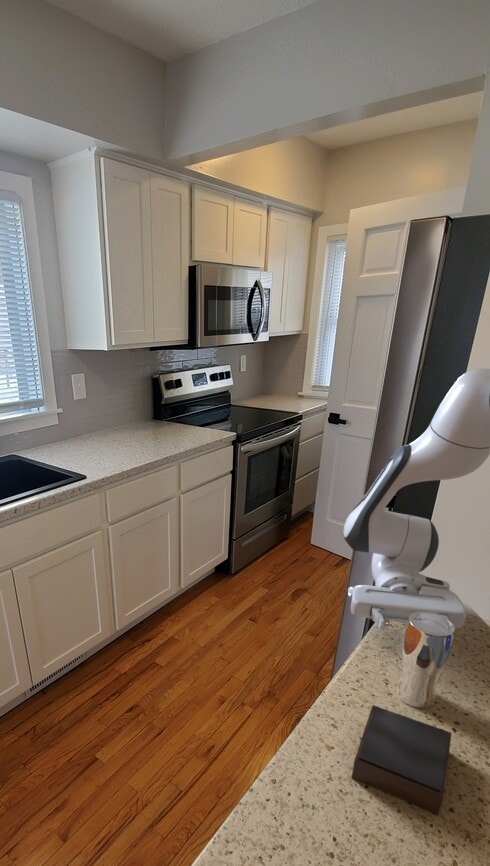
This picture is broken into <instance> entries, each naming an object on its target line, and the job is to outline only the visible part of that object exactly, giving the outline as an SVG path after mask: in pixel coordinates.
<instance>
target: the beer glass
mask: <svg viewBox="0 0 490 866" xmlns="http://www.w3.org/2000/svg"><path fill="white" fill-rule="evenodd" d="M455 631H456V628H455V626H454V624H453V623H452V622H451V621H450V620H449V619H447V618H445V617H444V616H441V615H439V614H436V613H431V612H416V613H413V614H411V615H410V617H409V620H408V622H407V625H406V627H405V631H404V635H403V638H402V645H401V661H402V662H401V663H402V665H401V666H402V671H401V677H400V679H399V682H398V683H397V686H396V689H395V691H396V692H395V693H396V695H397V697H398V698H399V700H401V701H402V702H403V703H405V704H406V705H408V706H411V707H413V708H416V709H428V708H431V707H433V706H434V705H435V704H436V700H437V695H436V693H437V692H436V691H437V690H436V689H437V684H438V682H439V679H440V677H441V675H442V674H443V672H444V670H445V668H446V666H447V664H448V662H449V659H450V657H451V653H452V648H453V644H454V637H455Z"/></svg>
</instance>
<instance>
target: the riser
mask: <svg viewBox="0 0 490 866" xmlns="http://www.w3.org/2000/svg"><path fill="white" fill-rule="evenodd" d="M451 741H452V732H450V731H448V730H445V729H442V728H440V727H436V726H433V725H431V724H428V723H425V722H422V721H420V720H418V719H417V720H416V719H414V718H411V717H408V716H405V715H402V714H399V713H396V712H395V711H390V710H388V709H385V708H382V707H379V706H377V705H372V706H371V708H370V711H369V715H368V718H367V721H366V724H365V727H364V729H363V733H362V736H361V739H360V742H359V745H358V748H357V750H356V751H357V752H356V754H355V757H354V761H353V768H352V773H351V779H353V780H355V781H358V782H360V783H362V784H364V785H367V786H369V787H372V788H374V789H376V790H378V791H380V792H383V793H385V794H388V795H389V796H392V797H395V798H397V799H400V800H401V801H403V802H406V803H409V804H410V805H413V806H415V807H418V808H419V809H422V810H424V811H426V812H429V813H432V814H434V815H436V816H439V814H440V811H441V807H442V804H443V800H444V797H445V789H446V781H447V772H448V765H449V757H450V748H451Z"/></svg>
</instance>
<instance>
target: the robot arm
mask: <svg viewBox="0 0 490 866" xmlns="http://www.w3.org/2000/svg"><path fill="white" fill-rule="evenodd" d="M489 456H490V368H475V369H471V370H469V371H466V372H464V373H463V374H461V375H460V376H459V377H458V378H457V380H456V381H454V384H453V385H452V386H451V388H450V389H449V390H448V392H447V393H446V395H445V396H444V398H443V399H442V400H441V402H440V404H439V406H438V407H437V410H436V411H435V413H434V415H433V417H432V419H431V421H430V423H429V424H428V426H427V428H426V430H425V431H424V432H422V434H421V435H420V436H419V437H418V438H416V439H415V440H413V441H412V442H410V443H408V444H405V445H401V446H400V447H398V448H397V450H395V452H394V453H393V454H392V456H391V457H390V458H389V459H388V460H387V462H386V463H385V465H384V466H383V467H382V469H381V471H380V472H379V473H378V474H377V477H376V478H375V479H374V481H373V482H372V484H371V486H370V487H369V488H368V490H367V491H366V492H365V494H364V496H363V497H362V498H361V500H360V501H359V502H358V503H357V505H355V507H354V508H353V509H352V510H351V512H350V513H349V515H348V516H347V518H346V519H345V522H344V525H343V533H342V536H343V539H344V540H345V543H346V544H347V545H348V546H349V547H350V549H352V550H353V551H354V552H361V553H372V556H371V573H372V578H373V581H374V585H368V584H359V585H354V586H350V587H348V588H347V595H348V597H349V598H351V603H350V613H351V614H352V615H353V616H354V617H357V618H363V619H364V618H365V619H371V621H373V623H375V624H377V625H378V628H379V630H385V631H389V629H390V628H389V627H390V621H391V622H400V623H408V620H409V617H410V615H411V614H413V613H416V612H431V613H436V614H439V615H441V616H444V617H445V618H447V619H449V620H450V621H451V622H452V623H453V624H454V626H455V629H461V628H462V627H463V626H464V625H465V622H466V619H467V615H468V614H467V613H468V611H467V609H466V607H465V605H464V603H463V602H462V600H461V598H460V597H459V596H458V595H457V594H456V593H455V592H453V591H452V590H451V589H450V588H451V585H450V583H449V582H448V581H445V580H441V579H437V578H433V577H430V576H426V575H424V574H423V573H422V572H423V571H424V570H426V569H427V568H428V567H429V566H430V565H431V564H432V562H433V561H434V560H435V557H436V555H437V552H438V550H439V545H440V541H439V540H440V538H439V534H438V531H437V528H436V526H435V524H434V523H433V522H432V520H431V519H429V518H425V517H422V516H421V517H420V516H416V515H411V514H407V513H405V514H404V513H399V512H395V511H391V510H385V508H387V506H388V505H389V503H390V502H391V500H392V499H393V498H394V496H395V495H396V494H397V492H398V491H399V490H401V489H402V488H403V487H406V486H409V485H412V484H417V483H421V482H431V481H445V480H446V481H449V480H454V479H458V478H462V477H464V476H468V475H470V474H472V473H474V472H475V471H476V470H478V469H479V468H480V467H481V466H482V465H483V464H484V463H485V462H486V460H487V459H488V457H489Z"/></svg>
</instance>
